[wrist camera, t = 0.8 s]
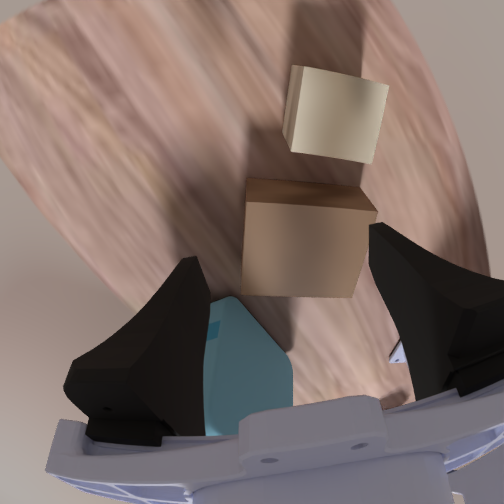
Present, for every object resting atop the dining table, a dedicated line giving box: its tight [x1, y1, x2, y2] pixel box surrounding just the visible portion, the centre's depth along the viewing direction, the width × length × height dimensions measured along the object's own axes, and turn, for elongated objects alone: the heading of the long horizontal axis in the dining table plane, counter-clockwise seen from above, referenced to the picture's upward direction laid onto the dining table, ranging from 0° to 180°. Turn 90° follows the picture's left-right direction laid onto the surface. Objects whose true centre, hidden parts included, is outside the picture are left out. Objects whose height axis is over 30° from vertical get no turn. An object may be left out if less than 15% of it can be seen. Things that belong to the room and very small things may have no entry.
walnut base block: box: [241, 178, 378, 298], centre depth 22 cm, size 8×7×4 cm
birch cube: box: [282, 65, 389, 164], centre depth 17 cm, size 4×4×4 cm
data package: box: [203, 296, 293, 436], centre depth 25 cm, size 12×4×12 cm, turn 31°
